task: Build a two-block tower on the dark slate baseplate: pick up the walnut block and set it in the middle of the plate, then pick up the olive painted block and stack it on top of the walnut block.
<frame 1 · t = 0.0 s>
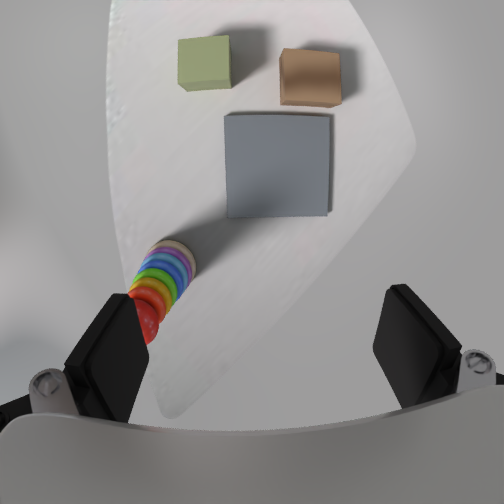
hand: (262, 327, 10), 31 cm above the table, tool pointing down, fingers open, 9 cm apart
olive block: (209, 70, 33), on the table
baseplate: (277, 165, 38), on the table
stacking toy: (171, 262, 43), on the table
walnut block: (305, 82, 34), on the table
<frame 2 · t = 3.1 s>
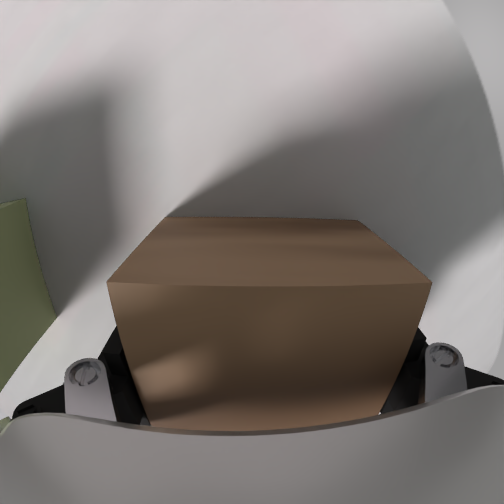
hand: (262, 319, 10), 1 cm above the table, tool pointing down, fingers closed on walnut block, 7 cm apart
olive block: (3, 262, 10), on the table
walnut block: (260, 303, 11), on the table, touching gripper
when the fingers open (3 cm above the table, at t = 9.0 s): walnut block drops 1 cm, resting on baseplate.
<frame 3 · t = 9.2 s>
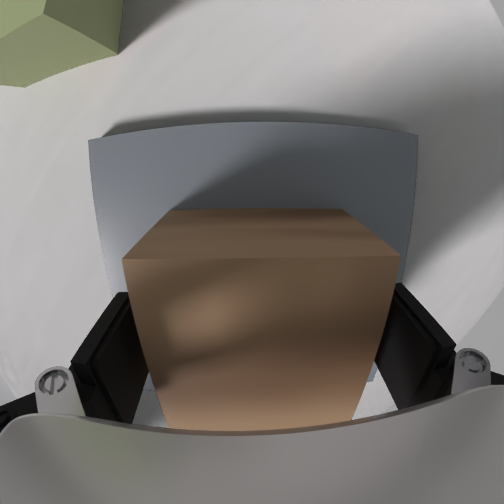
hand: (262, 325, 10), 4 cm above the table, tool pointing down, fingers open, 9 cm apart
olive block: (72, 21, 8), on the table
baseplate: (258, 279, 13), on the table
walnut block: (256, 287, 13), point 1 cm above the table, touching baseplate
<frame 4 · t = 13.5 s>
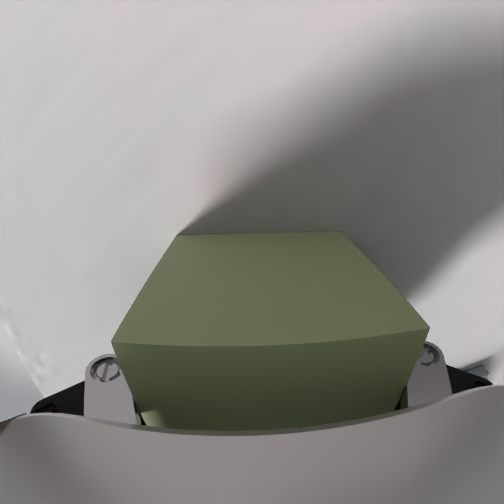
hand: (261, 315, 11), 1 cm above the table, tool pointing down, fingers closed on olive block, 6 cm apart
olive block: (260, 305, 11), on the table, touching gripper
when the fingers open (8 cm above the table, at t = 19.0 s): olive block drops 1 cm, resting on walnut block.
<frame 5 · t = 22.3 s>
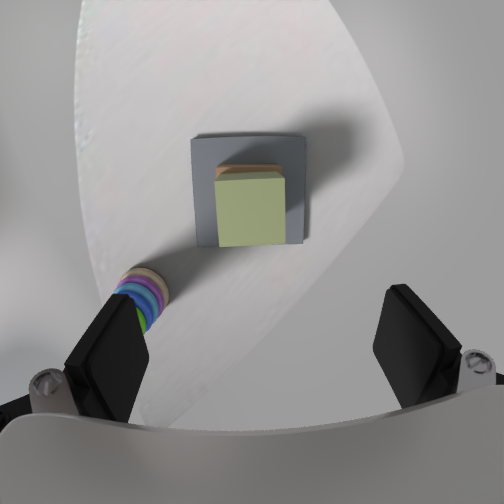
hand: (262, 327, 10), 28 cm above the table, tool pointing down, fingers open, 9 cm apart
olive block: (249, 199, 31), point 6 cm above the table, touching walnut block
baseplate: (249, 190, 36), on the table
stacking toy: (145, 289, 41), on the table
walnut block: (248, 191, 35), point 1 cm above the table, touching baseplate, olive block
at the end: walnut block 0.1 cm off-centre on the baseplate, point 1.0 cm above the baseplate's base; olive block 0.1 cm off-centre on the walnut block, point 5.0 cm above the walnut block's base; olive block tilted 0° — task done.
